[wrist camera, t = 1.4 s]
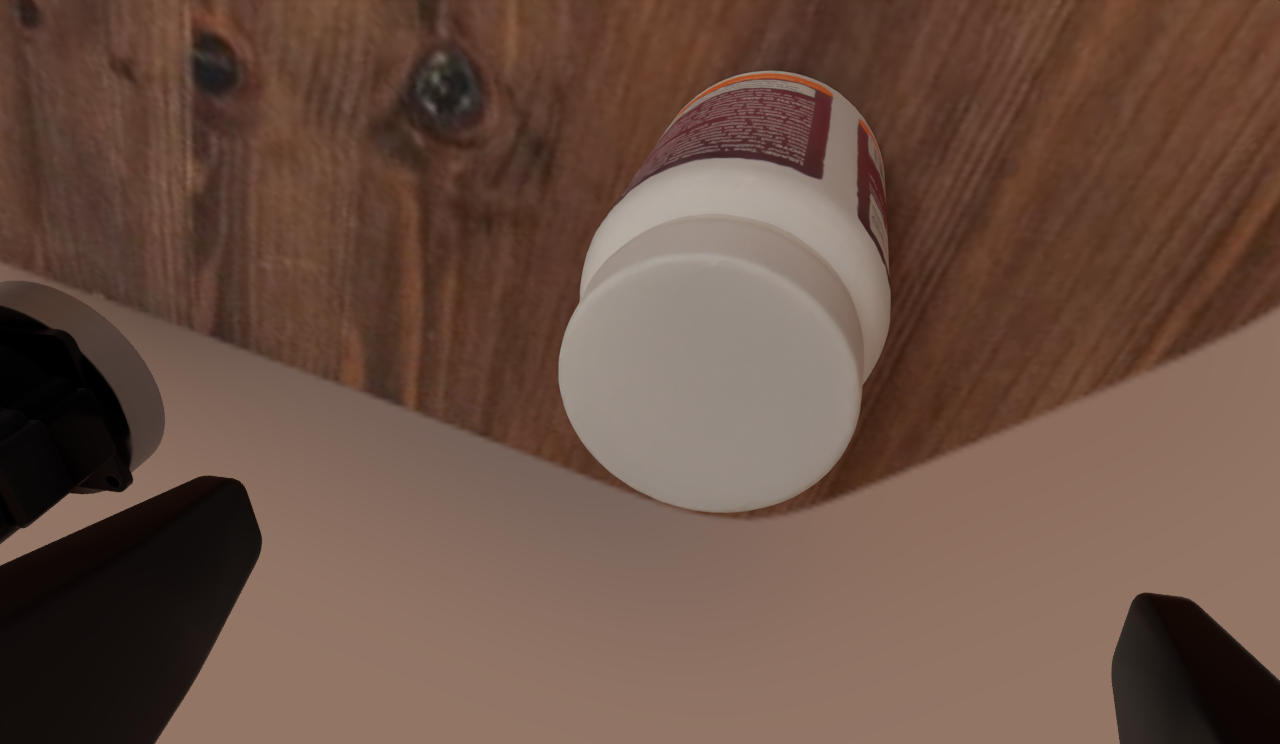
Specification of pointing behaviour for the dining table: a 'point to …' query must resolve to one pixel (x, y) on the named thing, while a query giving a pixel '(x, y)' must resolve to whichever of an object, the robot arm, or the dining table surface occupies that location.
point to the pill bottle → (735, 299)
